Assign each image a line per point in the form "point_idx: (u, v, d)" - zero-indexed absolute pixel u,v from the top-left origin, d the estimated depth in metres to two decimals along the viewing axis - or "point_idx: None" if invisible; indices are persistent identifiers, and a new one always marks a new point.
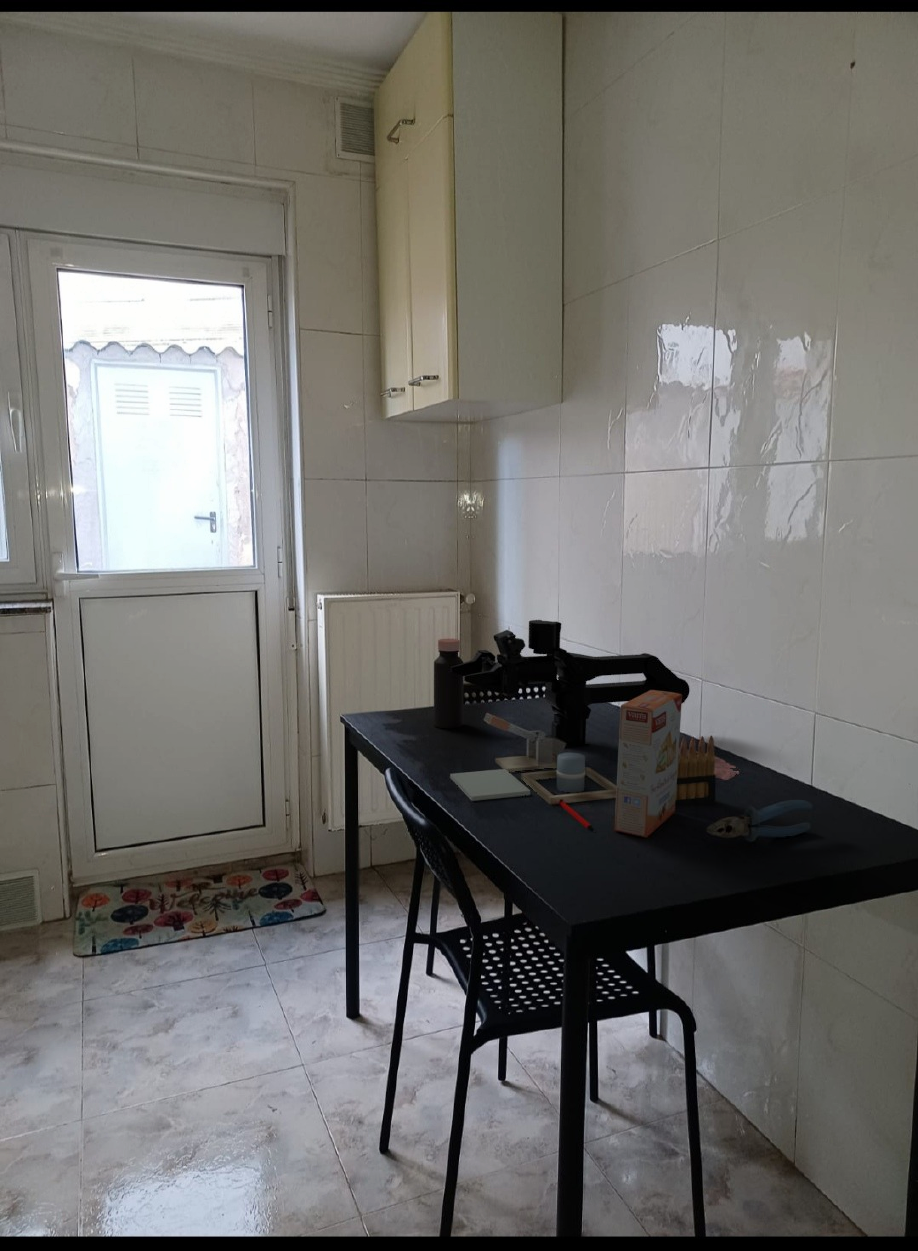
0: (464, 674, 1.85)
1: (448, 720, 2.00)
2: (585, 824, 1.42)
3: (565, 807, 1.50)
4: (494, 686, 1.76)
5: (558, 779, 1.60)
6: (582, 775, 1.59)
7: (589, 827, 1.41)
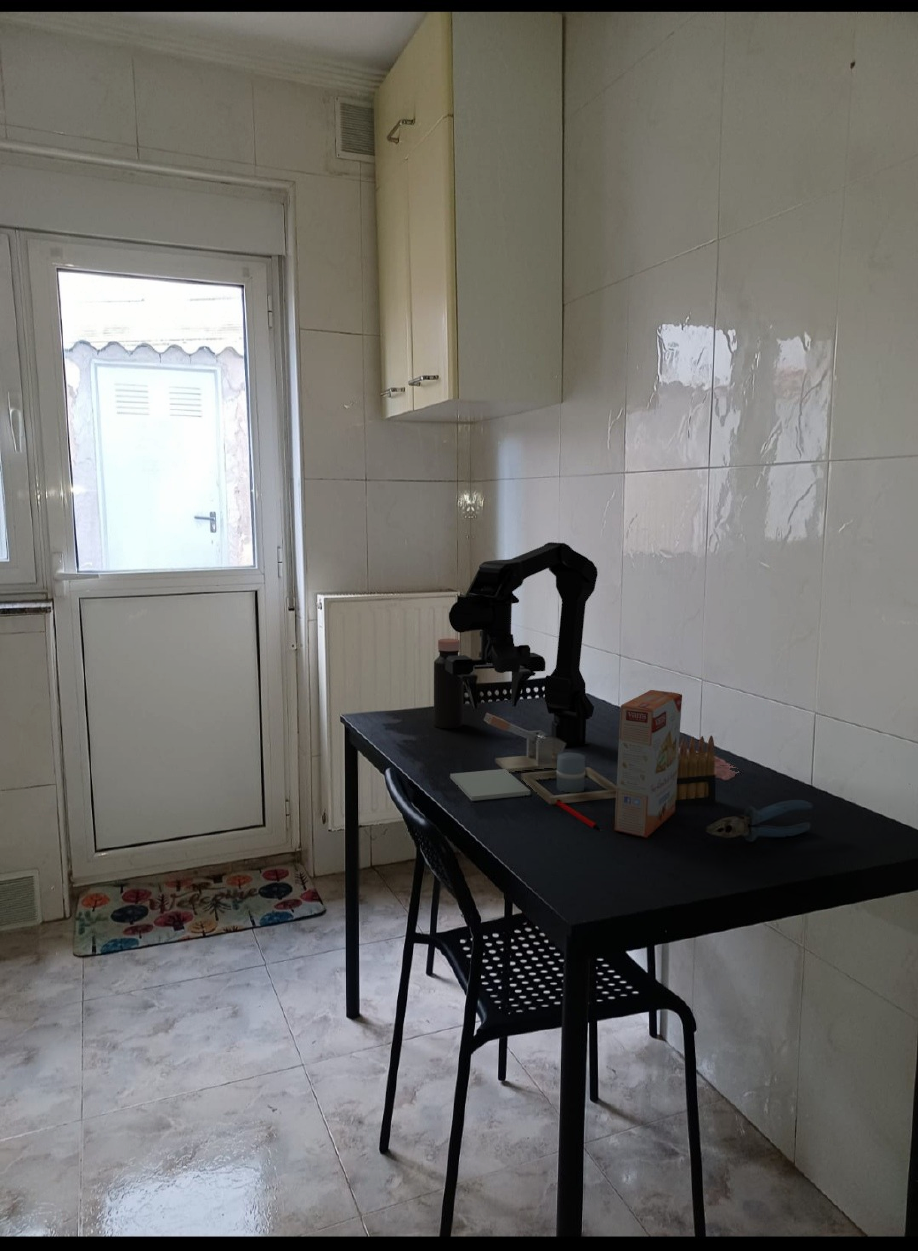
0: None
1: (448, 720, 2.00)
2: (590, 824, 1.43)
3: (564, 807, 1.50)
4: None
5: (558, 779, 1.60)
6: (582, 775, 1.59)
7: (595, 826, 1.41)
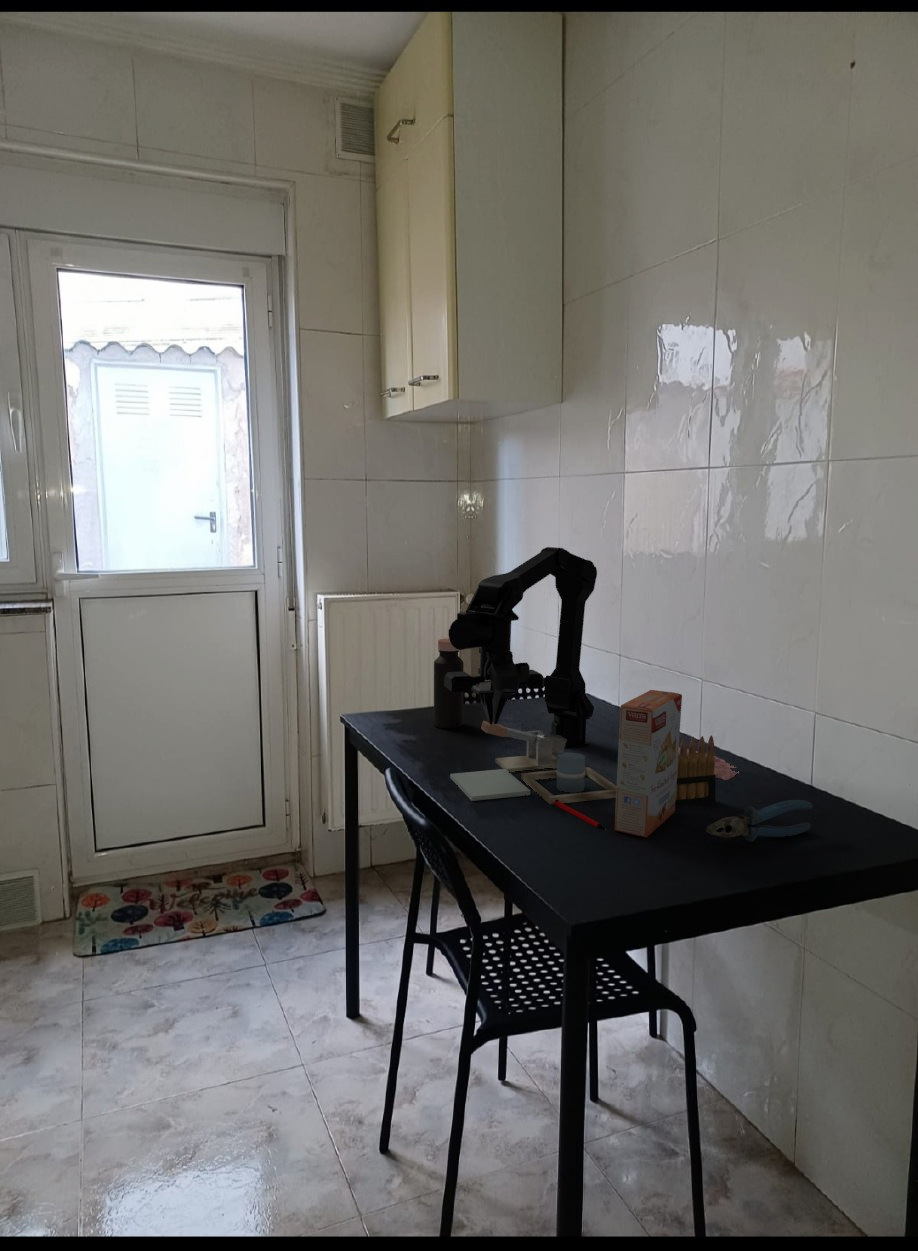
0: None
1: (448, 720, 2.00)
2: (594, 823, 1.43)
3: (564, 807, 1.50)
4: None
5: (558, 779, 1.60)
6: (582, 775, 1.59)
7: (599, 826, 1.42)
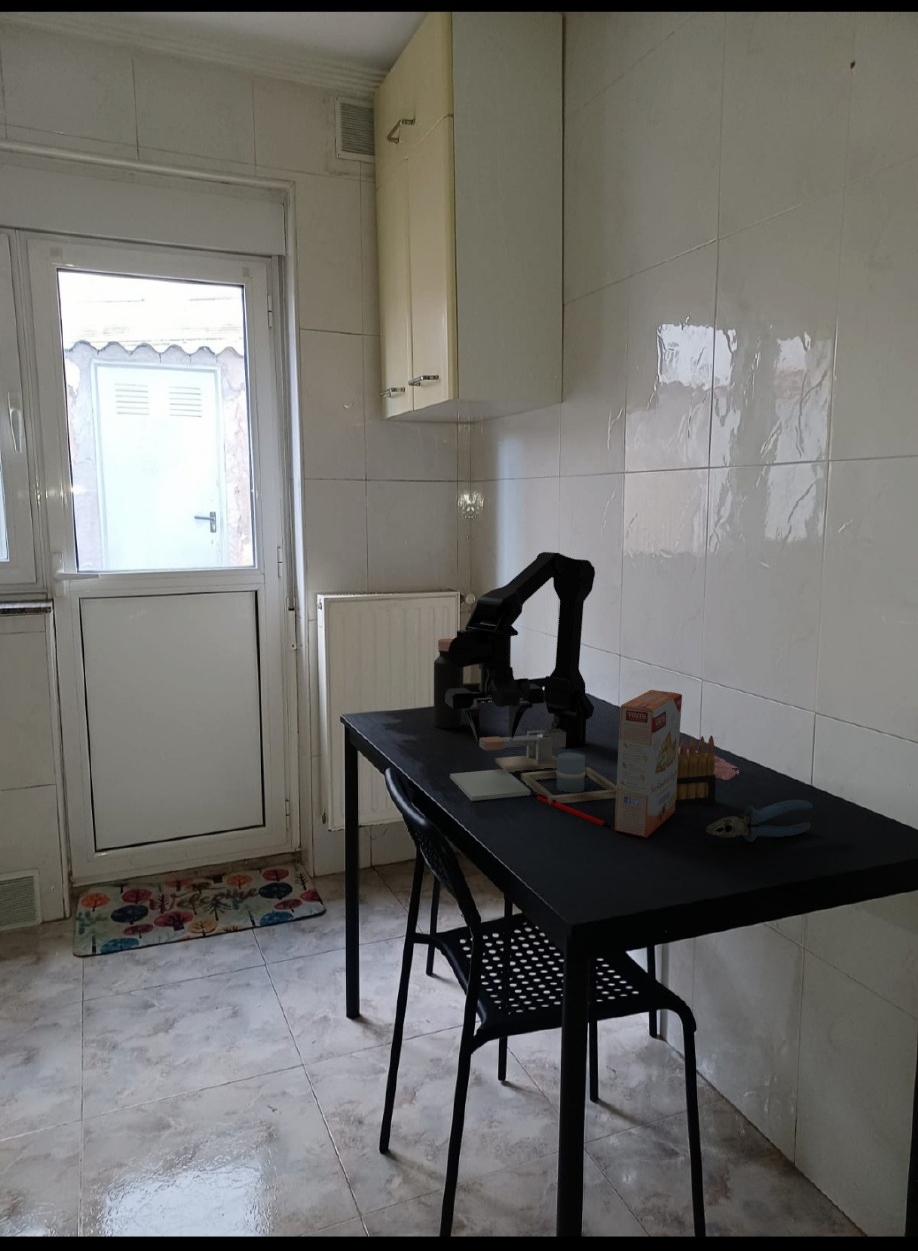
0: None
1: (448, 720, 2.00)
2: (599, 822, 1.43)
3: (564, 808, 1.50)
4: None
5: (558, 779, 1.60)
6: (582, 775, 1.59)
7: (605, 824, 1.42)
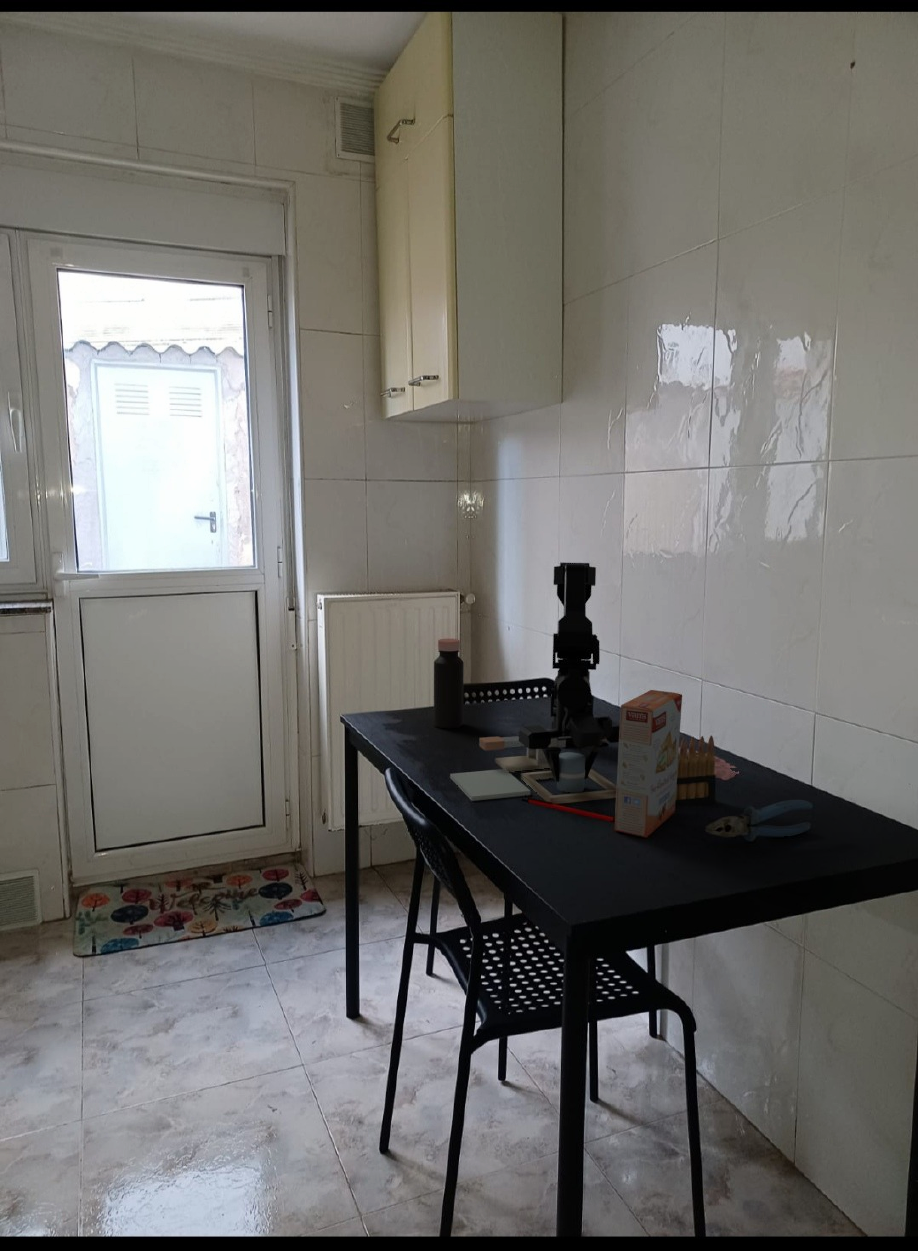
0: None
1: (448, 720, 2.00)
2: (608, 818, 1.45)
3: (563, 808, 1.49)
4: None
5: None
6: (582, 775, 1.59)
7: None
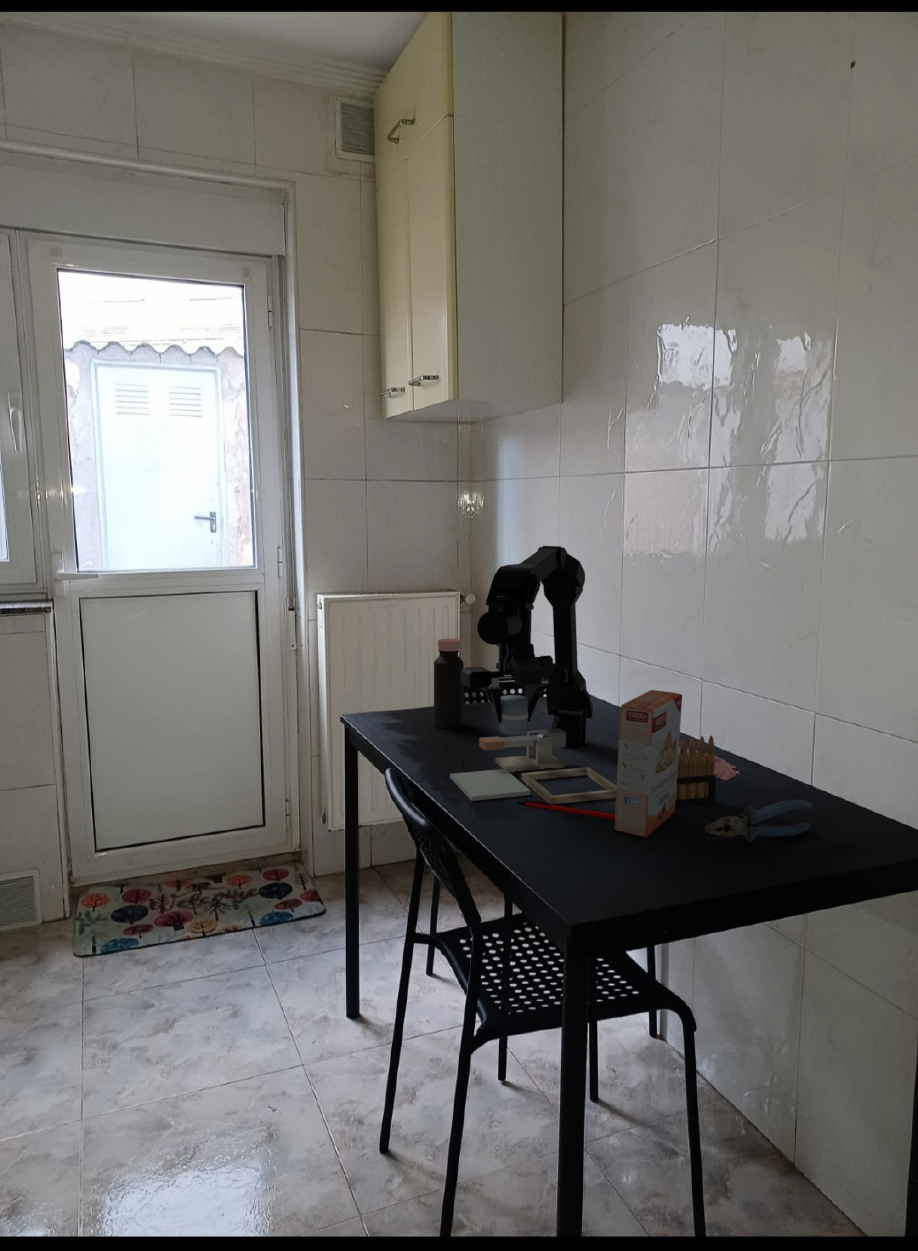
0: None
1: (448, 720, 2.00)
2: (611, 816, 1.46)
3: (563, 809, 1.49)
4: None
5: (501, 721, 1.58)
6: (524, 717, 1.57)
7: None
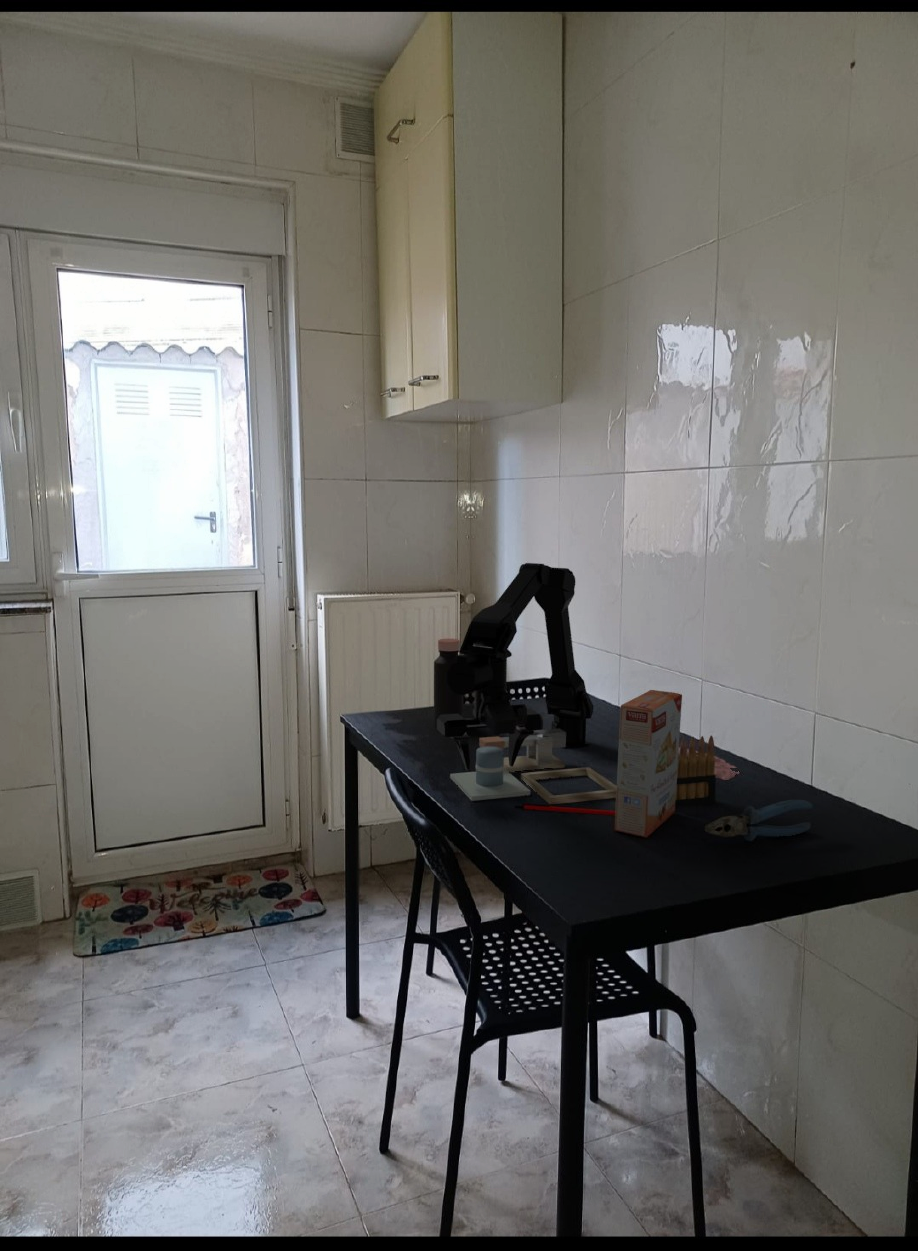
0: None
1: None
2: (612, 812, 1.48)
3: (563, 809, 1.49)
4: None
5: (477, 773, 1.60)
6: (500, 769, 1.59)
7: None
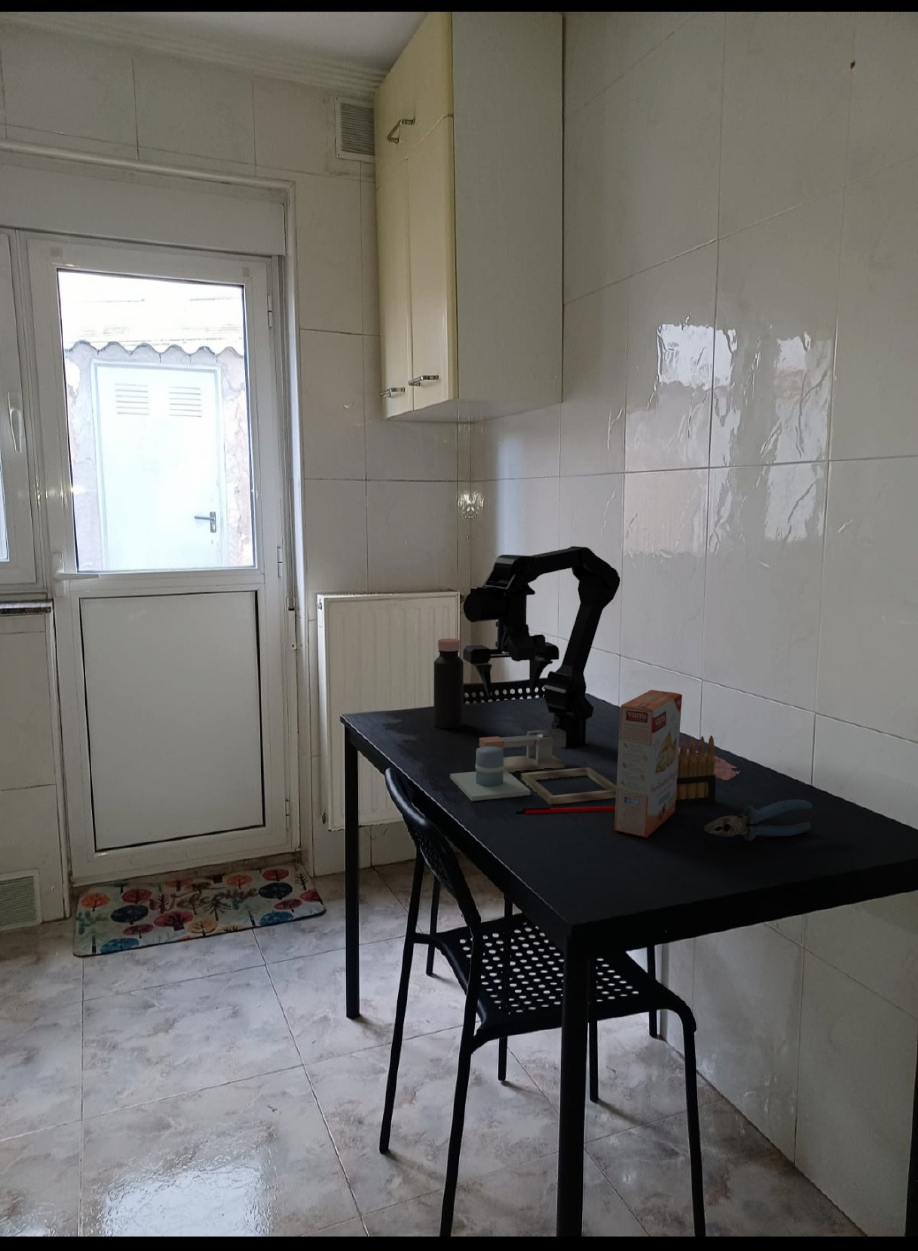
0: None
1: (448, 720, 2.00)
2: (611, 808, 1.50)
3: (564, 810, 1.49)
4: None
5: (477, 773, 1.60)
6: (500, 769, 1.59)
7: None
